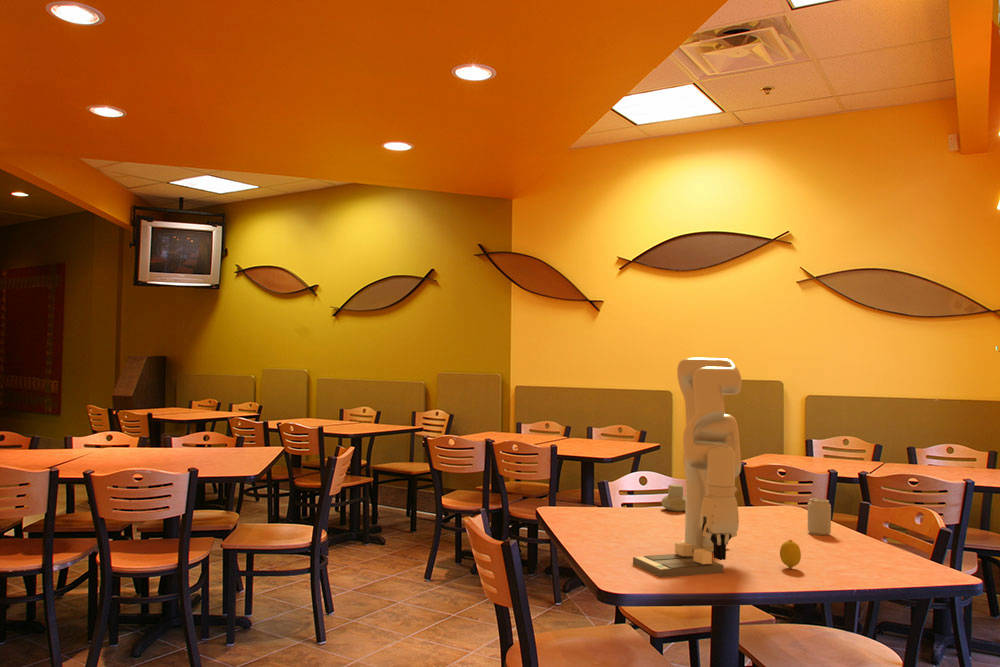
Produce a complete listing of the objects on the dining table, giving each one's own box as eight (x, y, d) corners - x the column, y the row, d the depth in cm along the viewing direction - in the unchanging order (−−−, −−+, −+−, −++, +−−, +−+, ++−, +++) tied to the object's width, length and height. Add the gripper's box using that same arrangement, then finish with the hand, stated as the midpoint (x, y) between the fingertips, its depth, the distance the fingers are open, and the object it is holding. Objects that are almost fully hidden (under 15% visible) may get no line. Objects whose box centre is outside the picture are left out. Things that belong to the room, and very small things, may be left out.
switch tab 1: (683, 552, 214) (684, 541, 215) (692, 555, 211) (692, 545, 211) (674, 553, 213) (675, 542, 213) (683, 556, 210) (683, 545, 210)
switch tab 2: (702, 560, 206) (702, 549, 206) (711, 563, 202) (711, 552, 202) (693, 560, 205) (693, 549, 205) (702, 564, 201) (702, 552, 201)
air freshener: (665, 512, 295) (665, 486, 295) (659, 508, 303) (659, 483, 304) (692, 512, 296) (692, 487, 296) (685, 508, 304) (685, 484, 304)
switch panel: (692, 560, 216) (693, 552, 216) (723, 572, 203) (723, 564, 203) (632, 564, 209) (633, 556, 209) (660, 577, 196) (660, 568, 196)
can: (827, 537, 255) (827, 501, 256) (804, 533, 260) (805, 499, 260) (833, 533, 261) (833, 499, 262) (810, 530, 266) (810, 496, 266)
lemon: (783, 565, 213) (783, 536, 214) (803, 568, 210) (803, 539, 210) (776, 568, 209) (777, 539, 210) (797, 572, 206) (797, 542, 206)
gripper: (733, 489, 213) (732, 554, 212) (689, 490, 207) (688, 557, 206) (751, 493, 206) (750, 560, 205) (706, 494, 200) (705, 563, 199)
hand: (719, 558), depth 205 cm, fingers closed
